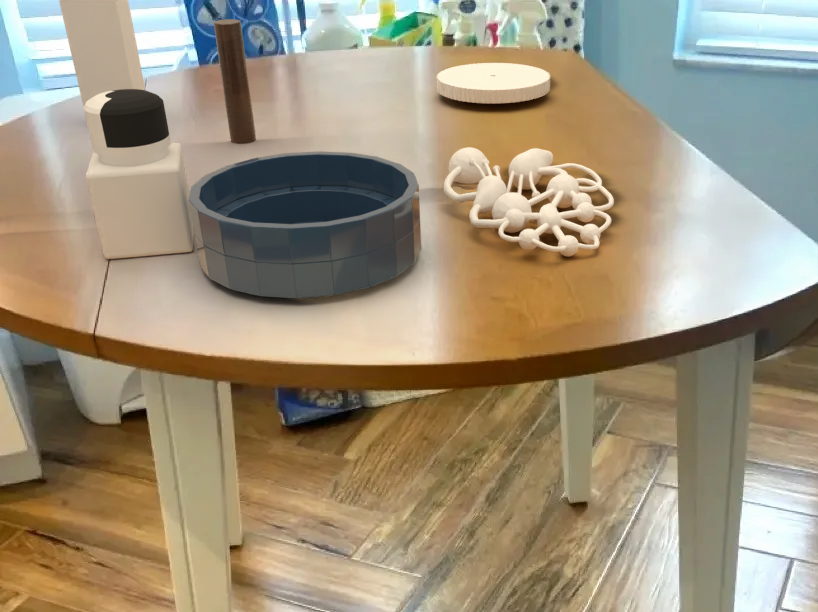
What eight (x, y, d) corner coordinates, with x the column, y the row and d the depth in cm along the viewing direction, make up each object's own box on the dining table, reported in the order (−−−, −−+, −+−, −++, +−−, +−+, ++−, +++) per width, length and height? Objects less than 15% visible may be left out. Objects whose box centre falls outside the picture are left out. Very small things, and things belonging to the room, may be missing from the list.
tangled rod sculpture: (647, 267, 79) (657, 219, 76) (476, 269, 76) (481, 219, 73) (578, 184, 94) (584, 142, 92) (434, 183, 91) (436, 139, 89)
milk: (140, 125, 111) (97, -94, 98) (86, 127, 110) (36, -93, 98) (149, 111, 116) (110, -100, 103) (98, 112, 115) (52, -99, 103)
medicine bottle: (194, 222, 85) (170, 80, 78) (193, 253, 79) (167, 103, 73) (111, 229, 84) (78, 86, 77) (104, 261, 78) (68, 109, 71)
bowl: (195, 314, 70) (180, 235, 67) (208, 226, 84) (196, 158, 81) (434, 295, 72) (431, 218, 69) (407, 213, 86) (404, 146, 83)
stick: (223, 162, 99) (202, 27, 92) (225, 150, 102) (205, 18, 95) (266, 160, 99) (249, 25, 92) (266, 147, 103) (250, 16, 96)
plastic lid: (415, 103, 117) (415, 81, 116) (471, 78, 127) (471, 58, 126) (518, 118, 112) (518, 95, 110) (567, 91, 121) (569, 69, 120)
